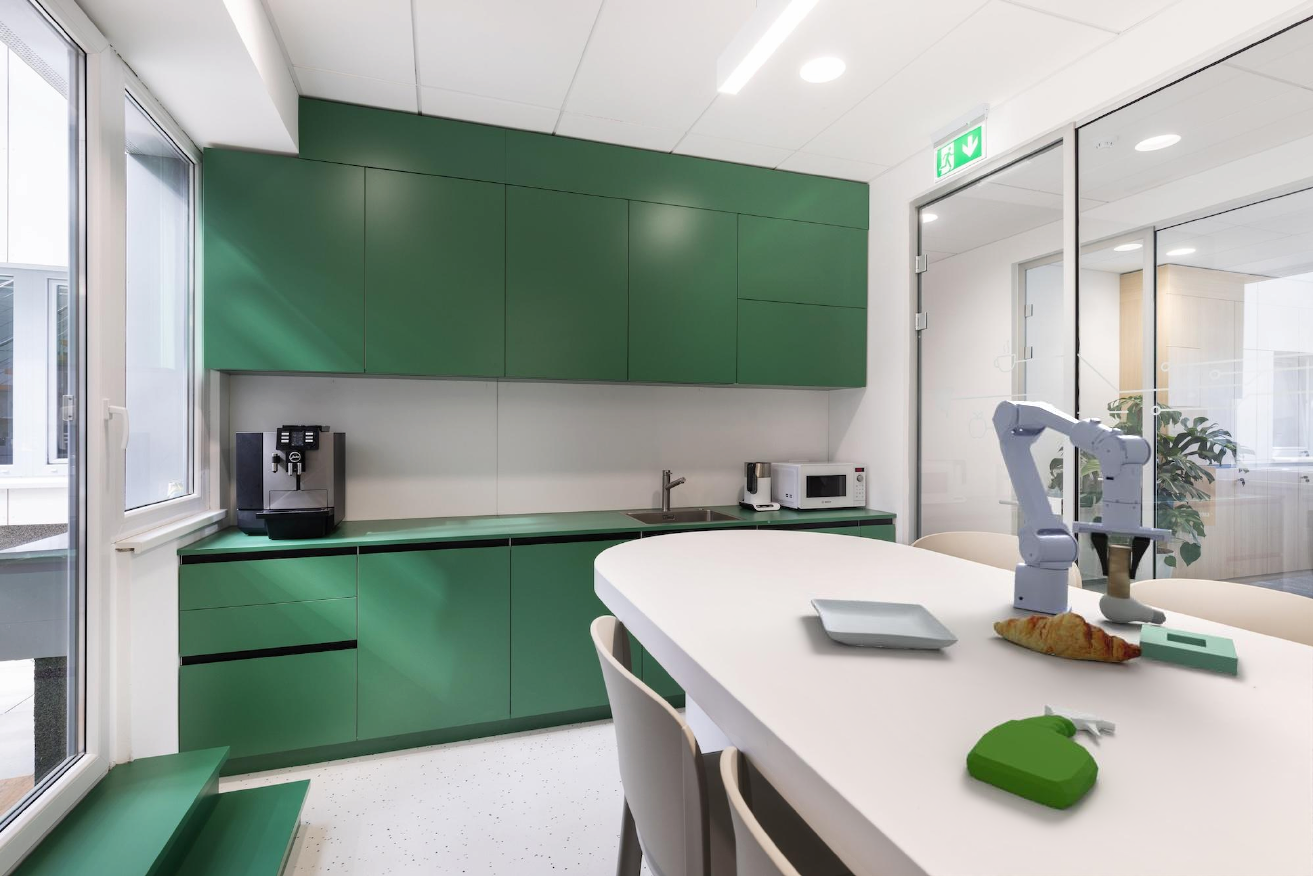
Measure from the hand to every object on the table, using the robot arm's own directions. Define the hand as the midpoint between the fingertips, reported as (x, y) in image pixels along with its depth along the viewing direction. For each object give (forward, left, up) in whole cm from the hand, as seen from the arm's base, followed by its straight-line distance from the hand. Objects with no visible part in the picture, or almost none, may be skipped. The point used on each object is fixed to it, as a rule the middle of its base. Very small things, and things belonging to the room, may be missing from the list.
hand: (1118, 576), depth 118 cm
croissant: (-7, -17, -11) cm, 21 cm away
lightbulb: (+7, +12, -9) cm, 17 cm away
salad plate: (-33, -29, -11) cm, 45 cm away
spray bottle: (-3, -59, -11) cm, 60 cm away
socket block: (+10, -6, -10) cm, 15 cm away
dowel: (0, 0, -4) cm, 4 cm away
